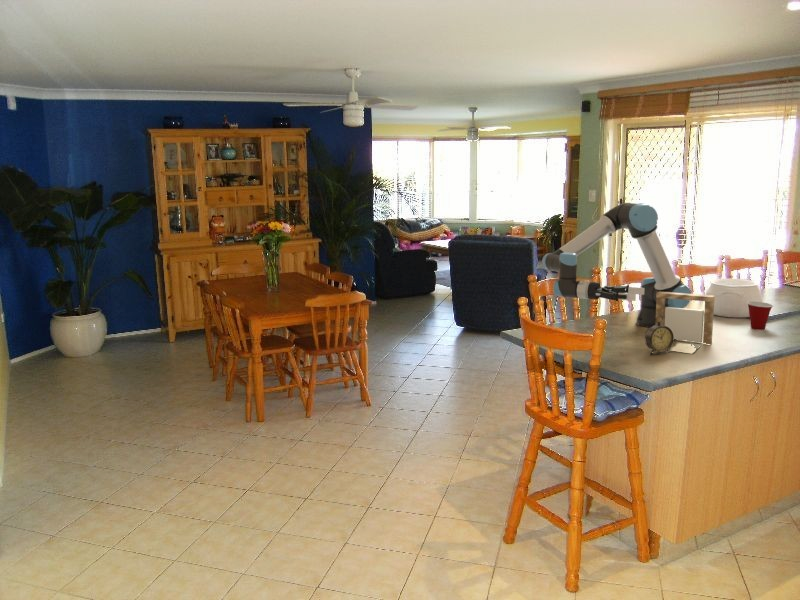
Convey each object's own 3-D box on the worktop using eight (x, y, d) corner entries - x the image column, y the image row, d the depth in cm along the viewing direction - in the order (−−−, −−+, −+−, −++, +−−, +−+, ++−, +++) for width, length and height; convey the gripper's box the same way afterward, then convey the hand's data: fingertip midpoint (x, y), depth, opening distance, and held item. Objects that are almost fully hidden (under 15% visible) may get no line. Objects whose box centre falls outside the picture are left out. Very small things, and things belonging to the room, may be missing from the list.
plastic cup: (775, 331, 311) (776, 305, 309) (749, 331, 313) (750, 305, 311) (767, 325, 322) (769, 300, 319) (742, 325, 324) (744, 300, 322)
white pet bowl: (759, 321, 330) (761, 288, 327) (699, 317, 344) (701, 285, 341) (764, 309, 354) (766, 279, 351) (708, 306, 368) (710, 276, 365)
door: (664, 338, 304) (665, 307, 301) (665, 337, 305) (666, 306, 303) (701, 342, 295) (702, 311, 292) (702, 341, 297) (703, 310, 294)
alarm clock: (650, 356, 280) (652, 317, 276) (642, 353, 285) (644, 314, 282) (673, 353, 282) (675, 315, 279) (665, 350, 288) (666, 312, 284)
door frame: (654, 339, 305) (656, 292, 301) (657, 337, 309) (658, 291, 304) (710, 345, 292) (712, 297, 288) (712, 343, 295) (714, 295, 291)
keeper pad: (670, 351, 286) (670, 349, 285) (678, 343, 297) (678, 341, 297) (693, 354, 280) (693, 352, 280) (700, 346, 292) (701, 344, 291)
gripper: (579, 286, 285) (631, 290, 273) (598, 277, 305) (647, 280, 293) (579, 304, 286) (631, 309, 275) (598, 293, 306) (647, 297, 295)
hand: (639, 294), depth 284 cm, fingers open, 13 cm apart
